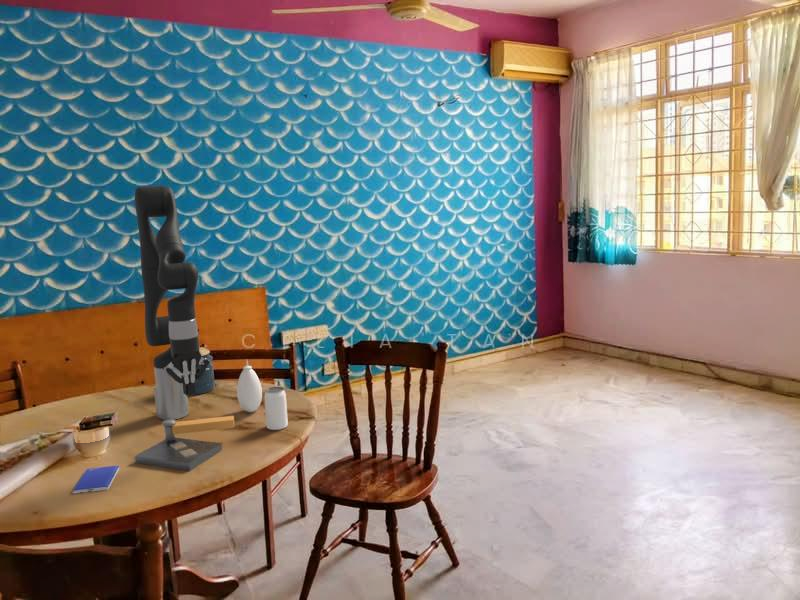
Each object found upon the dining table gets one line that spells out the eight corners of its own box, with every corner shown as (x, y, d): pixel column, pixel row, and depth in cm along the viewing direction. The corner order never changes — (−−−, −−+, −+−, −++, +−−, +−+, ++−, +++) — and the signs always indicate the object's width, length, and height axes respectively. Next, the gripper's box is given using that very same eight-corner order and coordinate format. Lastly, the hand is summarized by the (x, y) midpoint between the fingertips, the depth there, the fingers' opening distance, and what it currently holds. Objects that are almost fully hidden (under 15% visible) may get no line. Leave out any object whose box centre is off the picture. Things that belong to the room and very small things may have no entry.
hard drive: (86, 468, 171) (72, 489, 159) (118, 465, 173) (107, 485, 161) (86, 474, 171) (73, 495, 159) (119, 470, 173) (108, 491, 161)
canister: (178, 387, 243) (173, 342, 240) (213, 382, 247) (209, 338, 244) (179, 397, 231) (175, 349, 228) (217, 392, 236) (212, 345, 232)
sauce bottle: (254, 416, 209) (249, 362, 206) (234, 414, 212) (229, 361, 209) (267, 408, 216) (263, 356, 213) (248, 406, 219) (243, 355, 216)
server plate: (135, 462, 176) (134, 454, 176) (170, 443, 189) (169, 435, 189) (190, 470, 170) (189, 462, 170) (222, 449, 183) (221, 442, 182)
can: (283, 431, 195) (280, 393, 193) (263, 430, 197) (260, 392, 195) (291, 423, 202) (288, 386, 200) (271, 422, 203) (268, 385, 201)
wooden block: (163, 442, 184) (161, 424, 183) (164, 437, 188) (163, 420, 187) (234, 434, 188) (233, 416, 187) (234, 429, 192) (233, 412, 191)
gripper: (165, 341, 171) (171, 404, 174) (212, 333, 179) (217, 392, 182) (154, 337, 176) (161, 398, 179) (200, 329, 185) (206, 387, 188)
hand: (189, 395), depth 181 cm, fingers closed
